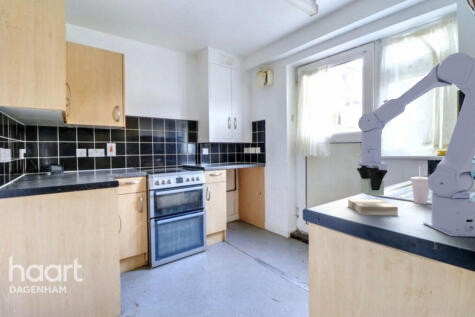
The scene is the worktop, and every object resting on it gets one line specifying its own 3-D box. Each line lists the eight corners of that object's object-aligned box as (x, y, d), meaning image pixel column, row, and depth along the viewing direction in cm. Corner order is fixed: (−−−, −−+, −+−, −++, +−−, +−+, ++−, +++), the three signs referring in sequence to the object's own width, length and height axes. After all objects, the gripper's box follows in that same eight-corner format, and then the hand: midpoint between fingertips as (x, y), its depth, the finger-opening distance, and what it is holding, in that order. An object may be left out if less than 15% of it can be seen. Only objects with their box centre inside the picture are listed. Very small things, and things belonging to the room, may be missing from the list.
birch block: (397, 216, 72) (397, 207, 72) (361, 216, 73) (361, 207, 73) (379, 207, 83) (379, 199, 83) (348, 207, 84) (348, 199, 84)
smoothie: (423, 201, 89) (423, 165, 88) (436, 205, 82) (436, 167, 82) (406, 201, 89) (406, 166, 89) (417, 205, 83) (417, 167, 82)
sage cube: (383, 195, 75) (384, 180, 75) (368, 195, 75) (368, 180, 75) (375, 192, 80) (375, 178, 80) (361, 192, 80) (361, 178, 80)
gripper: (397, 149, 69) (396, 192, 70) (371, 149, 84) (371, 185, 84) (373, 149, 70) (373, 192, 70) (352, 149, 84) (352, 185, 85)
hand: (371, 188), depth 77 cm, fingers closed on sage cube, 5 cm apart
